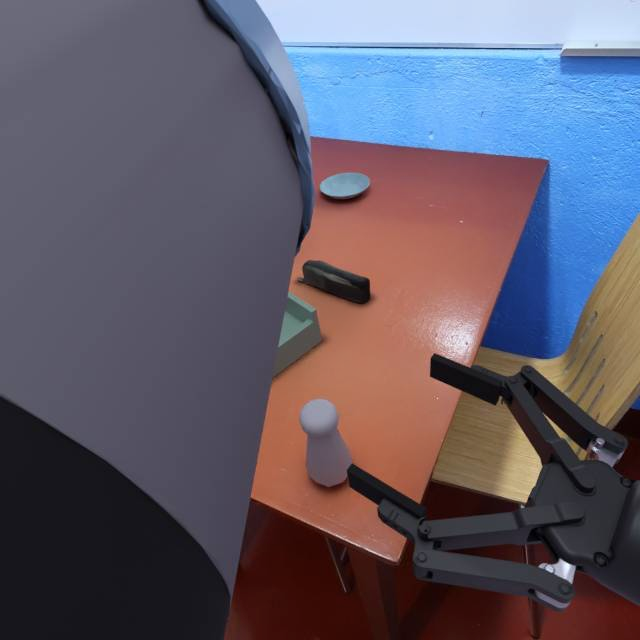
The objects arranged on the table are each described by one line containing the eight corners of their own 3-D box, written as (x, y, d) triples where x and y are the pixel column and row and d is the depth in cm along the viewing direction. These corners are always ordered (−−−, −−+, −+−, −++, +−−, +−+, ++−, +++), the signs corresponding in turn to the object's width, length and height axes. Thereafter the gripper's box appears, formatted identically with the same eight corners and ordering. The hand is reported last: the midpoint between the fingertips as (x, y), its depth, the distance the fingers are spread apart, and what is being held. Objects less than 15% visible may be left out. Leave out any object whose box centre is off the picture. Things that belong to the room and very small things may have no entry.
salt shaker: (360, 485, 58) (351, 424, 49) (315, 500, 57) (298, 441, 48) (345, 445, 62) (334, 383, 53) (303, 459, 61) (285, 398, 52)
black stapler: (372, 275, 80) (300, 253, 87) (363, 285, 78) (291, 262, 85) (372, 297, 83) (304, 274, 90) (364, 307, 82) (295, 283, 88)
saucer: (313, 190, 114) (311, 181, 113) (355, 175, 117) (355, 167, 116) (334, 210, 106) (333, 201, 105) (379, 194, 109) (379, 185, 107)
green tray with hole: (264, 383, 72) (254, 352, 67) (203, 330, 82) (190, 300, 78) (322, 340, 77) (316, 309, 72) (257, 295, 87) (248, 265, 83)
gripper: (609, 781, 26) (314, 554, 37) (693, 449, 39) (456, 353, 50) (657, 771, 21) (298, 511, 32) (735, 393, 34) (461, 300, 45)
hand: (394, 415), depth 41 cm, fingers open, 13 cm apart
